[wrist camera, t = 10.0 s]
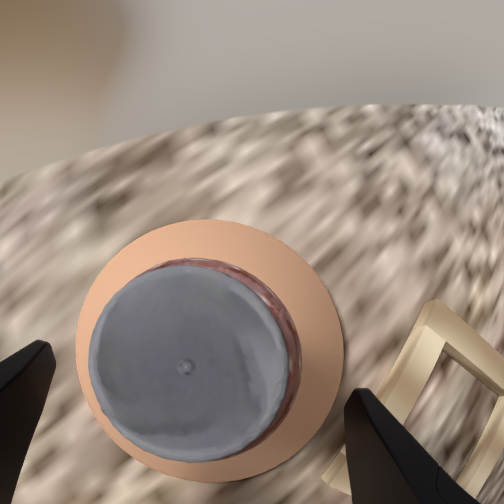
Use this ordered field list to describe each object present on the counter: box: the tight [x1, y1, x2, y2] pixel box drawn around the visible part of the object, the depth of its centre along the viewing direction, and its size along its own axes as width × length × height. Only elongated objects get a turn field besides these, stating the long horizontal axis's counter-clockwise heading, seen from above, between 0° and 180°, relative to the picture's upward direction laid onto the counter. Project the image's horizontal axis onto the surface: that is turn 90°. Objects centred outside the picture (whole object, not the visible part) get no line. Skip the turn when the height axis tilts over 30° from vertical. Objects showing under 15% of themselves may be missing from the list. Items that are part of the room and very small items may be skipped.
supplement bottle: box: [88, 258, 302, 463], centre depth 11 cm, size 6×6×11 cm
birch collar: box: [321, 299, 504, 498], centre depth 16 cm, size 13×13×2 cm
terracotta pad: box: [76, 220, 344, 482], centre depth 17 cm, size 15×15×1 cm
